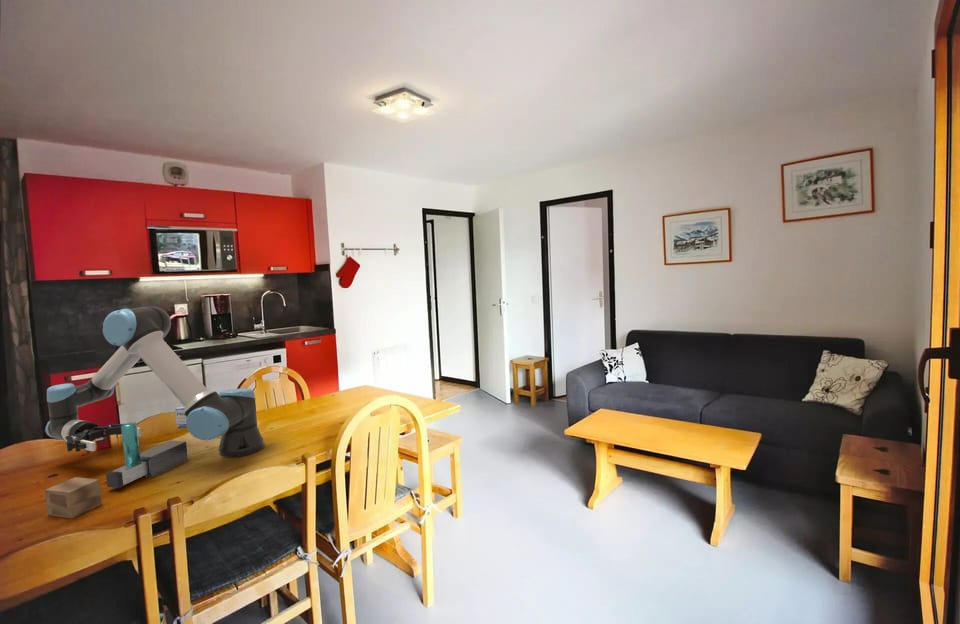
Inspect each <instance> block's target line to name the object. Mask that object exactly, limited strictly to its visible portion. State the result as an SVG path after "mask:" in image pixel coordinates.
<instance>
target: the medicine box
mask: <svg viewBox="0 0 960 624" xmlns="http://www.w3.org/2000/svg"><path fill="white" fill-rule="evenodd" d="M184 410H185V407H184V406H183V405H181V406H178V407H176V408H175V409H174V412H178V413H175V414H174V415H175V424H176V423H177V425H179V427H182V429H183V428H185V429H186V428H187V427H186V426H187V423H186V419H187V417H186V416H185V415H184Z"/></svg>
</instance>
